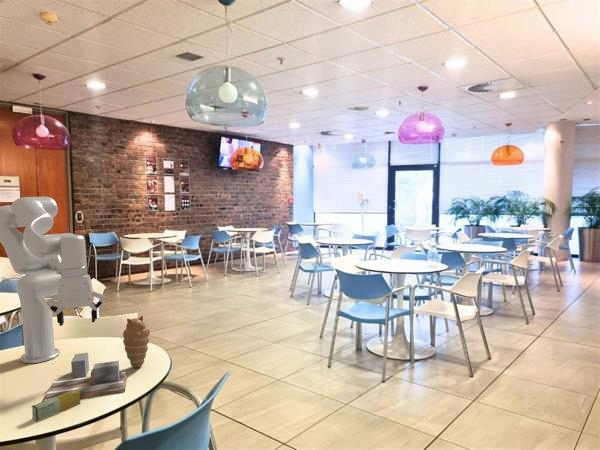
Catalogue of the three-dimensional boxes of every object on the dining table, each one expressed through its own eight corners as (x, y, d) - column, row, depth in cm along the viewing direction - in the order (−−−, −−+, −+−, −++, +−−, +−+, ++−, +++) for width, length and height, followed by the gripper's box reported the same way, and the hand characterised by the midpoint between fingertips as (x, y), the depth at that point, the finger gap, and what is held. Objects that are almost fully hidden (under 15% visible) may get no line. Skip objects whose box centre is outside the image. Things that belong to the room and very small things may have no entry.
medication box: (36, 423, 115) (35, 408, 114) (31, 419, 116) (30, 405, 116) (81, 404, 124) (80, 391, 124) (76, 401, 126) (75, 388, 126)
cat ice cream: (127, 374, 143) (124, 322, 142) (121, 366, 150) (118, 316, 148) (154, 367, 149) (151, 316, 147) (147, 360, 155) (144, 311, 153)
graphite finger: (72, 379, 141) (71, 361, 140) (76, 370, 148) (75, 353, 147) (85, 377, 142) (84, 360, 141) (89, 368, 149) (88, 351, 149)
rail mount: (43, 404, 124) (41, 381, 124) (52, 386, 136) (51, 365, 135) (124, 391, 131) (123, 369, 131) (127, 375, 143) (126, 355, 142)
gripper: (41, 276, 135) (45, 329, 137) (101, 272, 141) (104, 323, 142) (47, 272, 142) (51, 322, 144) (104, 268, 148) (107, 316, 149)
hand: (77, 323), depth 143 cm, fingers open, 9 cm apart
